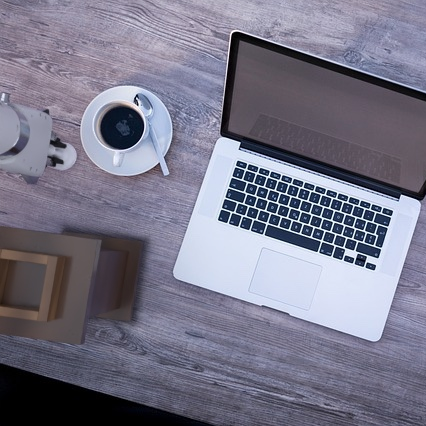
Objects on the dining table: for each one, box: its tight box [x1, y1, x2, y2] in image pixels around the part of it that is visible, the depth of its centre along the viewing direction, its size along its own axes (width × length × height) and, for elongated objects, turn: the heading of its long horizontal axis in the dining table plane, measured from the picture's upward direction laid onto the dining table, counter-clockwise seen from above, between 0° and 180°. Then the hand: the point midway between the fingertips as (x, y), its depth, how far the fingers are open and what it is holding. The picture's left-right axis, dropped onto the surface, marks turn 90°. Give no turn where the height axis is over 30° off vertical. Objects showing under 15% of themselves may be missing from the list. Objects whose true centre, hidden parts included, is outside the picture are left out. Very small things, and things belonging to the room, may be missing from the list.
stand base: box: [61, 230, 145, 323], centre depth 90 cm, size 14×14×24 cm
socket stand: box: [0, 225, 102, 346], centre depth 76 cm, size 16×14×4 cm
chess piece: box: [48, 141, 78, 171], centre depth 96 cm, size 5×5×10 cm
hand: (56, 153), depth 99 cm, fingers closed on chess piece
